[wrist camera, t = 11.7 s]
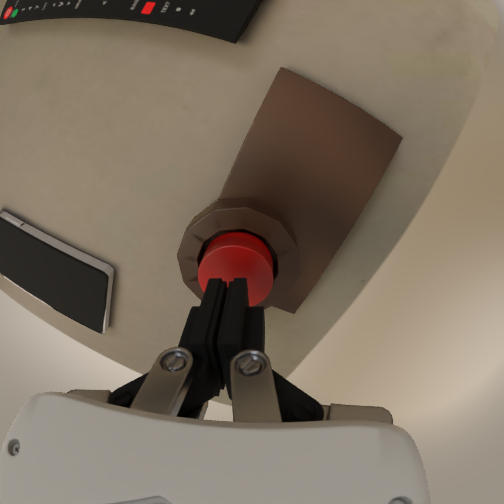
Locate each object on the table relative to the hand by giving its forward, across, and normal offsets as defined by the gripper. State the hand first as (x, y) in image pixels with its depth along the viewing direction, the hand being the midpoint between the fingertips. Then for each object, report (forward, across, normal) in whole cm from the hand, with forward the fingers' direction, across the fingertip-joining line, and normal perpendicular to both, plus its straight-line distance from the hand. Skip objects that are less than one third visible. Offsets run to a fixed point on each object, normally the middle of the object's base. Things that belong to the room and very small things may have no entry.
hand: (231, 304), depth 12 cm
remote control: (+7, +9, -20) cm, 23 cm away
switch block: (+7, -3, -3) cm, 8 cm away
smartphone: (+7, +19, +2) cm, 20 cm away
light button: (+4, 0, 0) cm, 4 cm away
